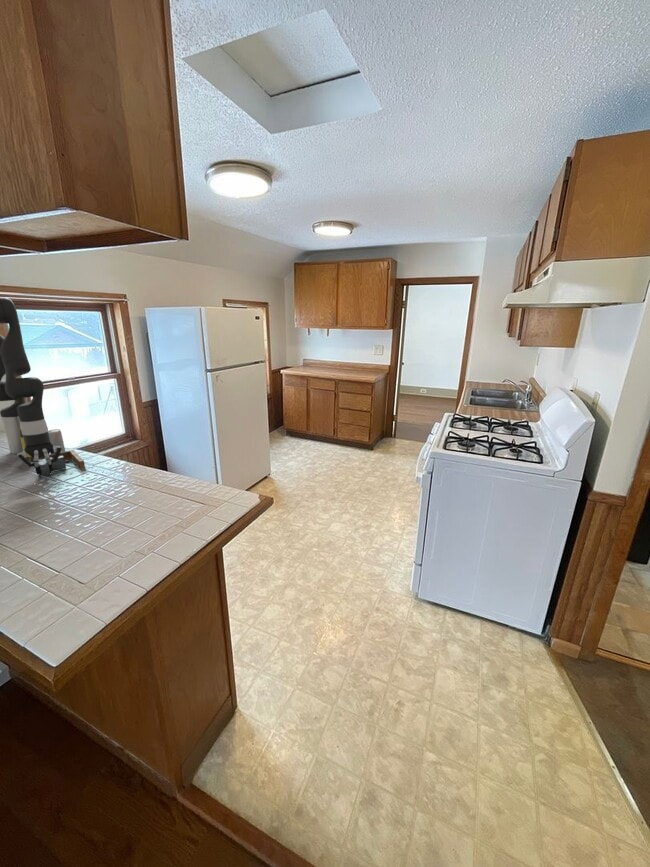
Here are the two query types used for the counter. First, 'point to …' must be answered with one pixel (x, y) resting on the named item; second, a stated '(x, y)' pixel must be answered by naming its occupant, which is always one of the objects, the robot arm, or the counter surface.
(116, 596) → the counter surface
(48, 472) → the bracket
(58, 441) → the energy drink
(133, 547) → the counter surface
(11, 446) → the robot arm
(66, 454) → the brown angled frame
